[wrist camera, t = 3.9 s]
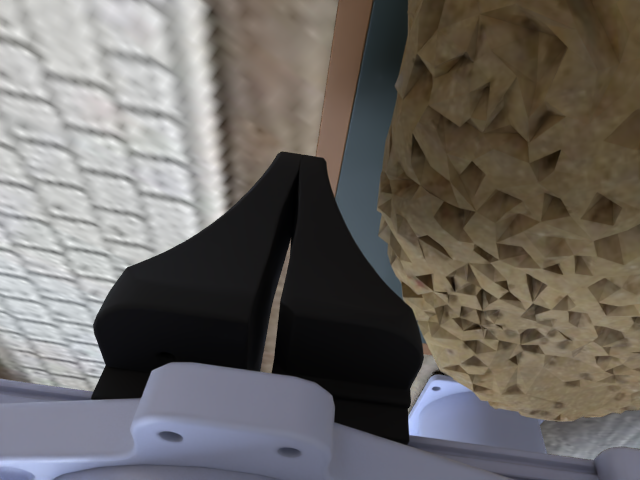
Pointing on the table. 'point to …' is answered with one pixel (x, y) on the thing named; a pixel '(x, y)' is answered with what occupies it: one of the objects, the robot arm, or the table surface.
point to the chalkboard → (363, 118)
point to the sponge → (521, 199)
